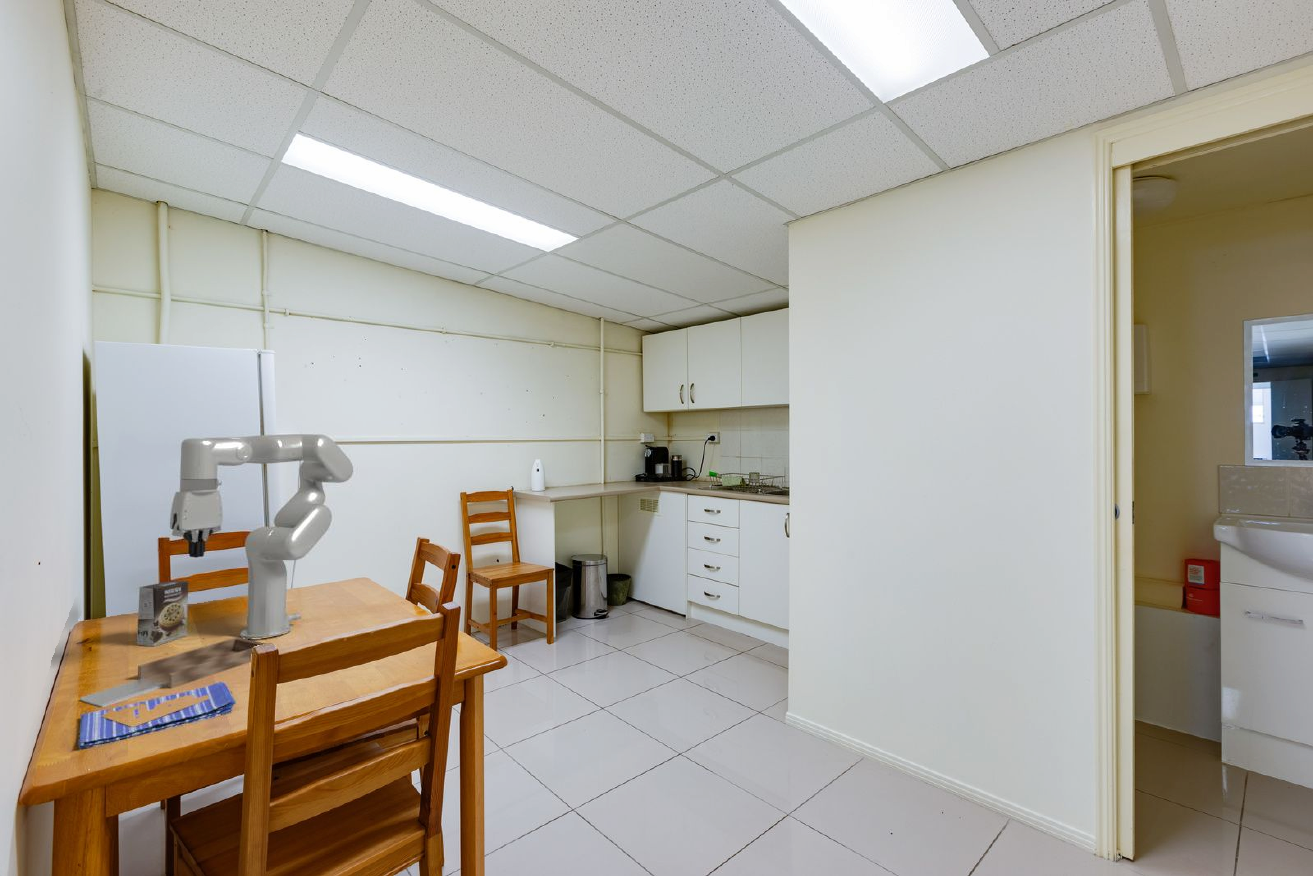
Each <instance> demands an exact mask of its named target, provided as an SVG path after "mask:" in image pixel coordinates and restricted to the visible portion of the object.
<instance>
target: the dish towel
mask: <svg viewBox="0 0 1313 876" xmlns="http://www.w3.org/2000/svg"><path fill="white" fill-rule="evenodd" d="M186 696H192V697H193V698H197V699H198V698H202V697H204V696H207V697H208V699H206V700H204V701H200V702H198V703H197V702H196V703H195V704H192V705H189V706H187V707H184V708H181V709H178V710H175V711H173V712H170V713H168V714H165V715H162V716H160V717H157V718H154V719H151V720H149V721H147V722H144V723H141V724H138V725H135V726H131V725H128V724H125V723H122V722H118V721H116V720H113V719H110V718H107V717H104V715H106V714H107V713H108V712H109V711H110V710H111V708H108V709H100V710H96V711H90V712H86V713H81V715H80V724H79V725H80V726H79V733H80V735H79V734H78V745H77V746H78V749H79V751H82V750H83V749H88V748H95V747H94V746H96V747H99V745H100V746H103V745H102V744H104V745H106V744H107V743H108V744H111V743H110V742H112V743H117V742H120V741H122V740H123V741H124V740H127V738H128V739H132V738H136V737H139V736H143V735H147V734H152V733H151V732H153V733H157V732H159V731H163V730H168V729H167V728H169V729H172V728H176V727H179V725H180V726H183V725H182V724H185V723H189V724H192V722H193V723H196V721H197V722H200V721H199V720H201V721H203V720H202V719H205V720H208V719H212V717H213V718H216V717H215V716H217V717H219V716H218V715H219V714H224V715H227V714H226V713H228V714H230V713H231V711H232V712H233V707H234V705H235V704H237V701H236V700H235V698H234V697H233V695H232V694H231V691H230V689H229V687H228V685H226V683H225V682H224V681H223V682H221V681H219V682H216V683H213V684H210V685H207V686H204V687H200V688H195V689H191V690H188V691H185V692H179V693H174V694H170V695H164V696H159V697H156V698H152V699H148V700H145V701H139V702H135V703H129V704H126V705H122V706H117V707H114V708H112V710H113V711H114V712H119V711H121V710H122V709H126V708H132V707H133V708H134V707H137V706H139V705H140V706H141V705H143V704H144V705H145V706H146V707H145V709H146V711H151V710H154V709H155V707H156V706H158V705H160V704H163V703H165V702H167V701H173V700H175V699H178V698H182V697H186ZM167 706H168V707H171V704H168V705H167ZM141 709H142V708H141V707H139V708H136V709H135V710H133V712H132V713H133V715H132V716H133V717H134V718H133V720H135V719H138V718H140V717H141V715H140V713H141V712H139V711H140V710H141ZM229 712H230V713H229ZM137 715H139V716H137ZM185 725H186V724H185ZM79 737H80V739H79ZM131 737H132V738H131ZM119 740H120V741H119ZM108 744H107V745H108Z"/></svg>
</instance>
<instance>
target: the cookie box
mask: <svg viewBox="0 0 1313 876" xmlns="http://www.w3.org/2000/svg"><path fill="white" fill-rule="evenodd" d="M138 595H139V596H138V609H137V611H138V612H137V615H138V616H137V631H136V633H137V635H136V645H139V646H145V647H146V646H148V647H157V646H160V645H163V644H167V643H169V641H170V642H172V641H175V640H176V641H177V640H179V638H180V639H182V637H183V638H185V637H184V636H186V637H187V633H188V632H187V629H188V626H187V625H188V602H189V601H188V600H189V581H186V580H168V581H164V582H159V583H154V584H148V585H143V586H140V587H139V593H138ZM166 642H167V643H166Z"/></svg>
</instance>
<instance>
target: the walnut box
mask: <svg viewBox="0 0 1313 876" xmlns="http://www.w3.org/2000/svg"><path fill="white" fill-rule="evenodd" d="M263 644H267V643H266V642H262V641H261V642H260V641H256V640H248V639H243V638H241V637H233V638H230V639H227V640H223V641H220V642H216V643H212V644H210V645H206V646H202V647H199V648H196V649H192V650H188V651H184V652H181V653H178V654H174V655H172V656H168V657H167V656H166V657H165V658H164V657H163V658H161V659H157V660H153V661H150V662H147V663H144V664H140V665H138V666H137V680H138V679H142V678H144V679H147V680H151V681H155V682H159V683H162V684H164V687H165V688H168V689H175V688H177V687H180V686H183V685H185V684H189V683H191V682H195V681H198V680H200V679H203V678H206V677H209V676H212V675H215V674H219V673H221V672H222V673H223V672H225V671H228V670H231V669H234V668H236V667H239V666H242V665H246V664H249V663H252V662H251V654H252V649H253V647H254V646H257V645H263Z"/></svg>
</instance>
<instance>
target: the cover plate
mask: <svg viewBox="0 0 1313 876" xmlns="http://www.w3.org/2000/svg"><path fill="white" fill-rule="evenodd" d="M164 687H165V686H164V684H162V683H159V682H155V681H151V680H147V679H144V678H142V679H138V678H137V679H135V680H133V681H129V682H126V683H123V684H120V685H116V686H112V687H110V688H106V689H104V690H101V691H97V692H93V693H91V694H88V695H84V696H82V697H80V702H83V703H87V704H91V705H94V706H97V707H100V708H104V707H108V706H111V705H113V704H117V703H120V702H124V701H126V700H129V699H132V698H135V697H138V696H142V695H144V694H147V693H150V692H152V691H153V692H154V691H156V690H159V689H161V688H164Z"/></svg>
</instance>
